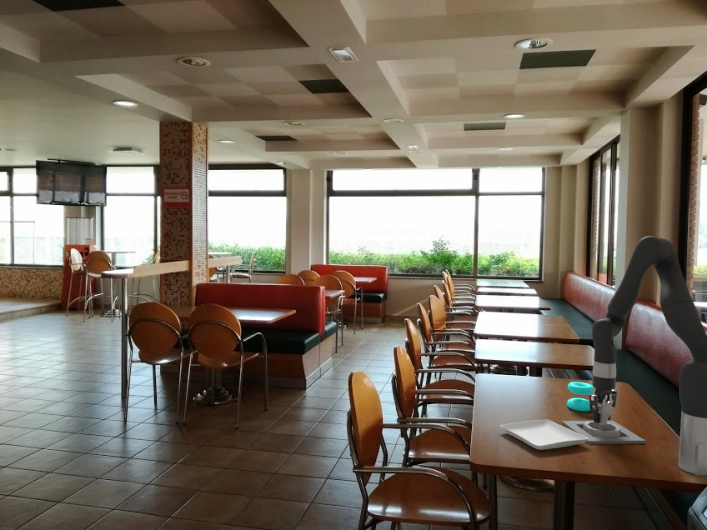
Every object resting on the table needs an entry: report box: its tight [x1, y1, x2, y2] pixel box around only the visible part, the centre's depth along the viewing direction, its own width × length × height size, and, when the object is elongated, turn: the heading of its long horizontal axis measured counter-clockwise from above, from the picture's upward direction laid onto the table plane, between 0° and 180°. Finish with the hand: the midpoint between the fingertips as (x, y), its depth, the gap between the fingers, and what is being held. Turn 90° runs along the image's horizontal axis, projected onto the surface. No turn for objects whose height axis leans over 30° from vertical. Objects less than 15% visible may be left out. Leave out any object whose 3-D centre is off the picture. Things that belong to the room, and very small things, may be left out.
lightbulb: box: [598, 402, 613, 431], centre depth 199 cm, size 6×6×11 cm
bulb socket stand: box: [561, 420, 646, 445], centre depth 199 cm, size 20×20×2 cm
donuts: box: [566, 381, 595, 412], centre depth 227 cm, size 10×10×10 cm
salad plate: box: [499, 418, 588, 451], centre depth 192 cm, size 21×21×3 cm
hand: (602, 421), depth 199 cm, fingers closed on lightbulb, 5 cm apart
